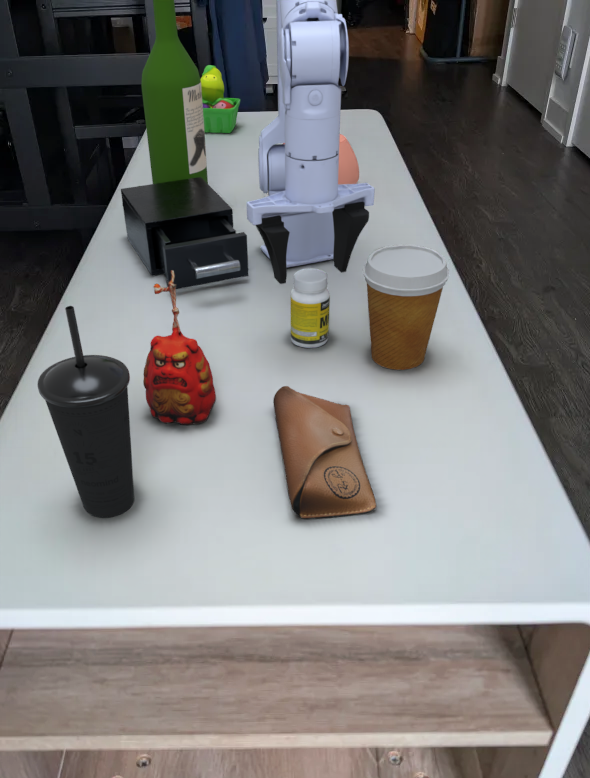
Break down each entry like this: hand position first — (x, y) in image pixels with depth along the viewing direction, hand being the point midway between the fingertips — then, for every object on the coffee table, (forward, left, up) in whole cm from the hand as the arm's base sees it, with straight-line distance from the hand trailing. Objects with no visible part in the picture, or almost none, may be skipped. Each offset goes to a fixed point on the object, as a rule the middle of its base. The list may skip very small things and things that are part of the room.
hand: (310, 274), depth 93 cm
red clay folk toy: (+19, +9, -9) cm, 23 cm away
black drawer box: (+7, -33, -8) cm, 35 cm away
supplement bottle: (0, 0, -9) cm, 9 cm away
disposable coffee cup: (-8, +8, -9) cm, 14 cm away
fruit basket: (-17, -90, -9) cm, 92 cm away
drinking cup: (+30, +21, -9) cm, 38 cm away
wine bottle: (+2, -48, -9) cm, 49 cm away
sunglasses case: (+8, +23, -9) cm, 26 cm away
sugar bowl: (-22, -47, -9) cm, 53 cm away
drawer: (+7, -23, -8) cm, 25 cm away
